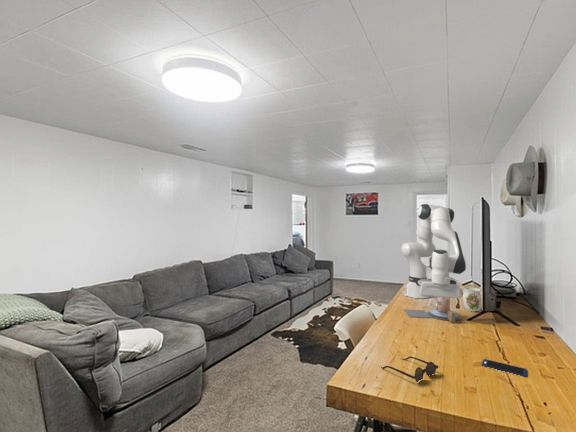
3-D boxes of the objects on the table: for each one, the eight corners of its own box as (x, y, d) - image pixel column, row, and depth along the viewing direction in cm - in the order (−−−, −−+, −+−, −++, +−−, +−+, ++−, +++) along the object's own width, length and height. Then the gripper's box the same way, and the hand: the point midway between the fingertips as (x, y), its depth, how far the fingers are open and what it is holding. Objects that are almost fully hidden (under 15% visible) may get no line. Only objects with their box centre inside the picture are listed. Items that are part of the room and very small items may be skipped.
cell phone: (483, 360, 127) (483, 358, 127) (527, 371, 118) (527, 369, 118) (481, 367, 121) (481, 365, 121) (527, 378, 112) (527, 376, 112)
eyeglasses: (414, 386, 105) (414, 371, 105) (377, 368, 117) (377, 355, 117) (438, 374, 114) (438, 360, 114) (401, 359, 126) (401, 346, 126)
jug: (443, 308, 190) (444, 295, 190) (452, 314, 179) (452, 300, 179) (433, 308, 191) (433, 294, 191) (441, 313, 179) (441, 299, 179)
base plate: (423, 311, 192) (423, 310, 192) (452, 312, 191) (452, 311, 191) (433, 320, 175) (433, 319, 175) (466, 321, 174) (466, 320, 174)
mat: (403, 310, 194) (403, 309, 194) (423, 311, 193) (423, 310, 193) (410, 317, 180) (410, 316, 180) (432, 318, 179) (432, 317, 179)
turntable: (426, 310, 191) (427, 302, 191) (451, 311, 189) (451, 303, 189) (439, 321, 171) (439, 311, 171) (466, 322, 170) (467, 312, 170)
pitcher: (492, 315, 187) (493, 292, 187) (457, 310, 196) (458, 288, 196) (491, 311, 196) (491, 288, 196) (458, 306, 205) (458, 285, 205)
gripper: (420, 279, 176) (419, 304, 176) (461, 282, 170) (461, 308, 170) (419, 277, 182) (418, 301, 182) (459, 280, 176) (458, 305, 176)
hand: (439, 304), depth 176 cm, fingers closed
